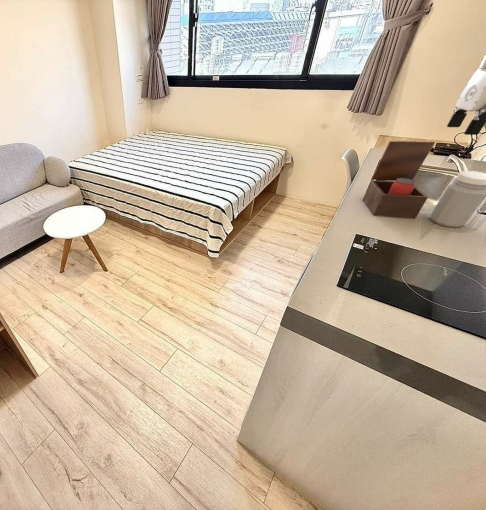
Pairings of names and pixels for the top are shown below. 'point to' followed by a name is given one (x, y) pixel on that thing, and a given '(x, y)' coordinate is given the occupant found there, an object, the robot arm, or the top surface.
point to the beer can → (402, 187)
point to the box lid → (402, 160)
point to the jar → (460, 199)
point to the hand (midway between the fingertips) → (461, 130)
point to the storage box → (393, 201)
